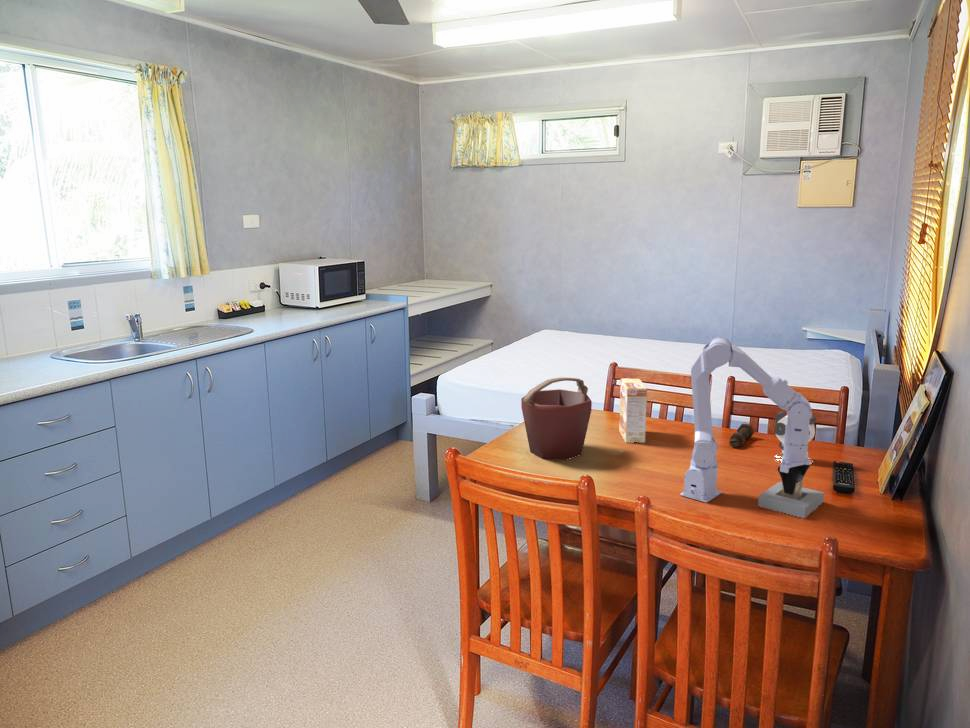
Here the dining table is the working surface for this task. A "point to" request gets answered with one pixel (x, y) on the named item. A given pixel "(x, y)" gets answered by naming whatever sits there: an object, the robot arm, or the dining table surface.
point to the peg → (797, 491)
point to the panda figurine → (781, 428)
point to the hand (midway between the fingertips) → (791, 490)
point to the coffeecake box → (633, 410)
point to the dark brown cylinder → (741, 435)
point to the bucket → (556, 420)
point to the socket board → (791, 501)
